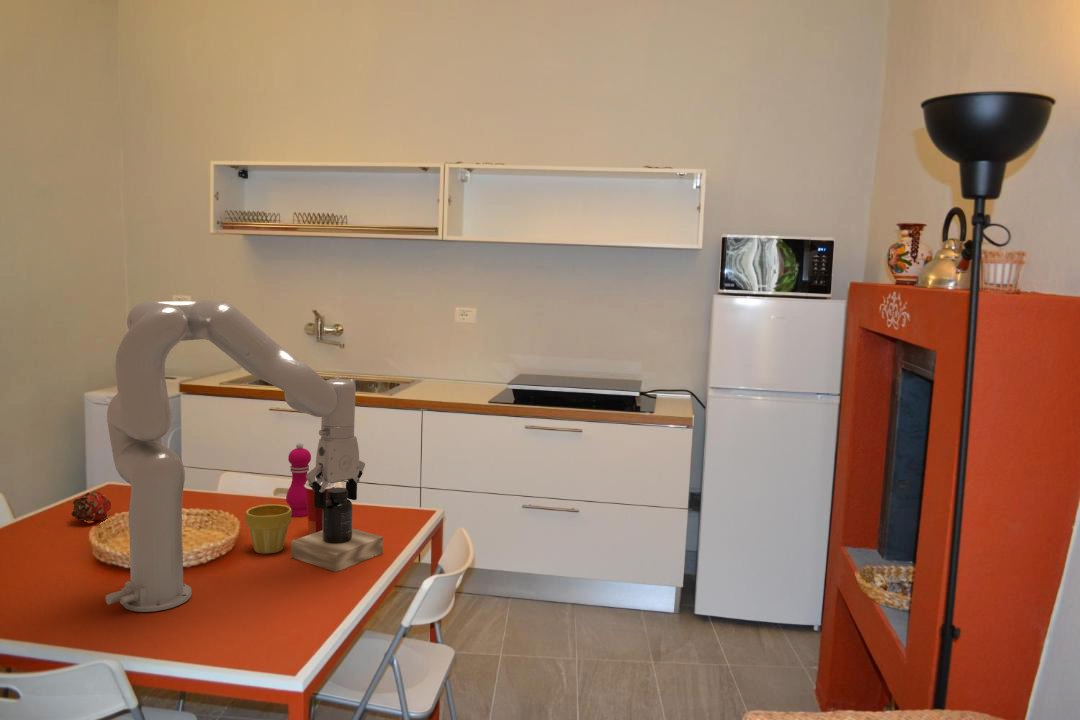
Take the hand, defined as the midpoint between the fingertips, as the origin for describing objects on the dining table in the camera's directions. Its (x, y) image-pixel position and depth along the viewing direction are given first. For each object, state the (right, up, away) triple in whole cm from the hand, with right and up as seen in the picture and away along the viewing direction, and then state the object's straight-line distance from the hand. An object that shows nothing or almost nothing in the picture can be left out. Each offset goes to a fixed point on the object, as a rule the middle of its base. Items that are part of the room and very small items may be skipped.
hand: (335, 503), depth 182 cm
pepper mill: (-19, -9, +32) cm, 38 cm away
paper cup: (-8, -11, +16) cm, 22 cm away
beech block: (0, -13, +2) cm, 13 cm away
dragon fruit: (-70, -9, +21) cm, 73 cm away
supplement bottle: (0, -9, +1) cm, 9 cm away
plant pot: (-17, -12, +4) cm, 22 cm away
